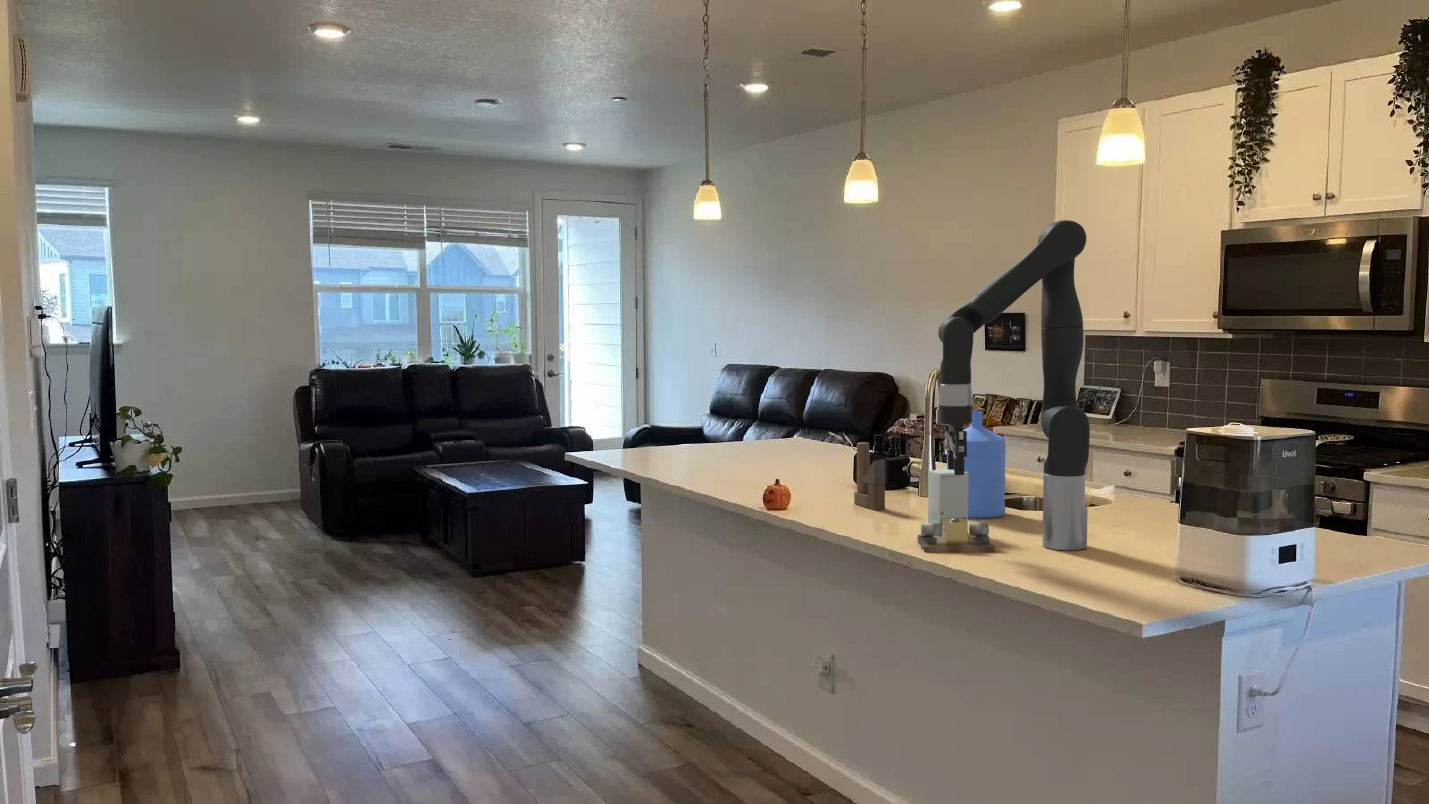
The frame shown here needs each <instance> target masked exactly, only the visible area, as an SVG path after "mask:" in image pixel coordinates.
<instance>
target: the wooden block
mask: <svg viewBox="0 0 1429 804" xmlns="http://www.w3.org/2000/svg"><path fill="white" fill-rule="evenodd" d="M885 485H886V459H876V460H873V462H872V463H871V464H870V443H869V442H864V441H863V442H861V441H860V442H857V443H856V491H854V493H853V495H854V499H853V500H854V503H853V504H855V505H856V504H857V505H856V506H859V507H864V508H866V507H867V509H869V510H872V509H873V511H881V509H882V510H885V509H886V486H885Z"/></svg>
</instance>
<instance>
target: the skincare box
mask: <svg viewBox="0 0 1429 804" xmlns="http://www.w3.org/2000/svg"><path fill="white" fill-rule="evenodd" d="M927 493H928V494H927V495H928V497H927V499H928V500H927V502H928V503H927V523H941V524H942V519H951V518H958V519H965V520H966V521H967V522H968V521H969V520H968V519H969V518H968V472H964V475H955V474H954V470H947V469H930V470H928V492H927Z"/></svg>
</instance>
